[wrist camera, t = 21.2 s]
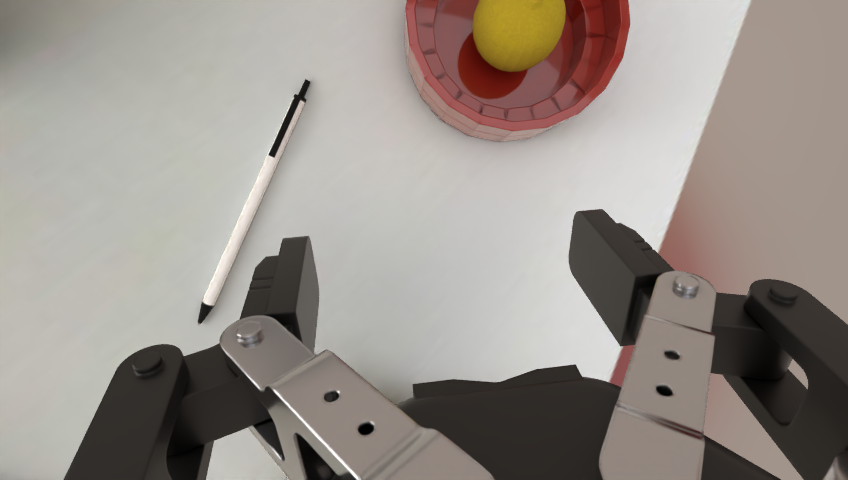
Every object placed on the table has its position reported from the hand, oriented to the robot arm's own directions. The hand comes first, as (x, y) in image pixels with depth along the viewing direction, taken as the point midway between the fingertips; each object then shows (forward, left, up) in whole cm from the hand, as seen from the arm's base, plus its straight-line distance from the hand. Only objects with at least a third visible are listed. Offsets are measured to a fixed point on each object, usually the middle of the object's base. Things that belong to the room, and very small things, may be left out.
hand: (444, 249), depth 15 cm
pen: (-9, -7, -22) cm, 25 cm away
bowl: (-6, +13, -21) cm, 26 cm away
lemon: (-5, +13, -21) cm, 25 cm away
